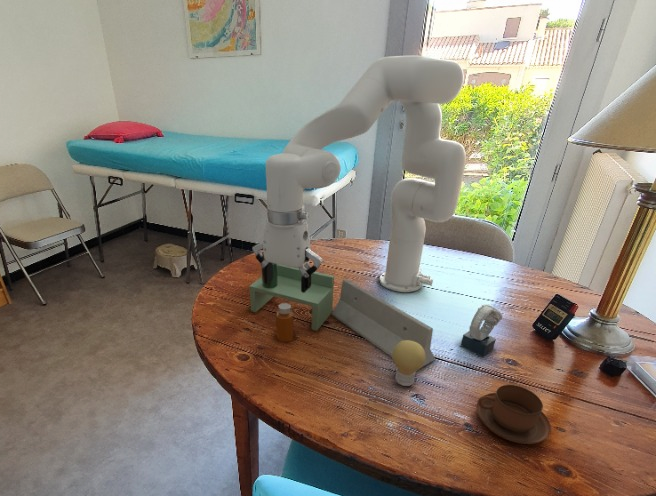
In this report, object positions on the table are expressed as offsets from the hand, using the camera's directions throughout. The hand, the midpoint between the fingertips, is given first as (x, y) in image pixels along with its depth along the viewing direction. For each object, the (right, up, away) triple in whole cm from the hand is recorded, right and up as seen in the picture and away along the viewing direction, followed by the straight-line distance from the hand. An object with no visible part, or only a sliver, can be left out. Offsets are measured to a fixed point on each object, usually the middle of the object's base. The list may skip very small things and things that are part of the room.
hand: (286, 285), depth 94 cm
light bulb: (+25, -21, -9) cm, 33 cm away
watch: (+45, -15, +1) cm, 47 cm away
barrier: (+23, -13, +6) cm, 27 cm away
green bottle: (-4, 0, +14) cm, 14 cm away
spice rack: (+2, -7, +17) cm, 18 cm away
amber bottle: (0, -13, +6) cm, 14 cm away
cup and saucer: (+41, -26, -19) cm, 52 cm away
